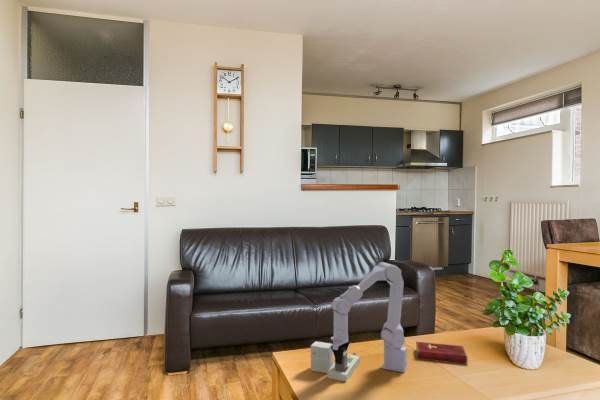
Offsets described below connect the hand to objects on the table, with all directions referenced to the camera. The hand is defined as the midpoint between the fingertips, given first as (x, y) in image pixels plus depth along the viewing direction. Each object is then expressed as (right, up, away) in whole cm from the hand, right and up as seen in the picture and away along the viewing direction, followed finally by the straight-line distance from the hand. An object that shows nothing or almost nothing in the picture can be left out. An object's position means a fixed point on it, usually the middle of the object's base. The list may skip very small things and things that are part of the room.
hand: (340, 361), depth 155 cm
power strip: (+3, -5, +8) cm, 10 cm away
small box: (-7, -6, +4) cm, 10 cm away
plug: (0, -2, 0) cm, 2 cm away
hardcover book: (+48, -6, +19) cm, 51 cm away
